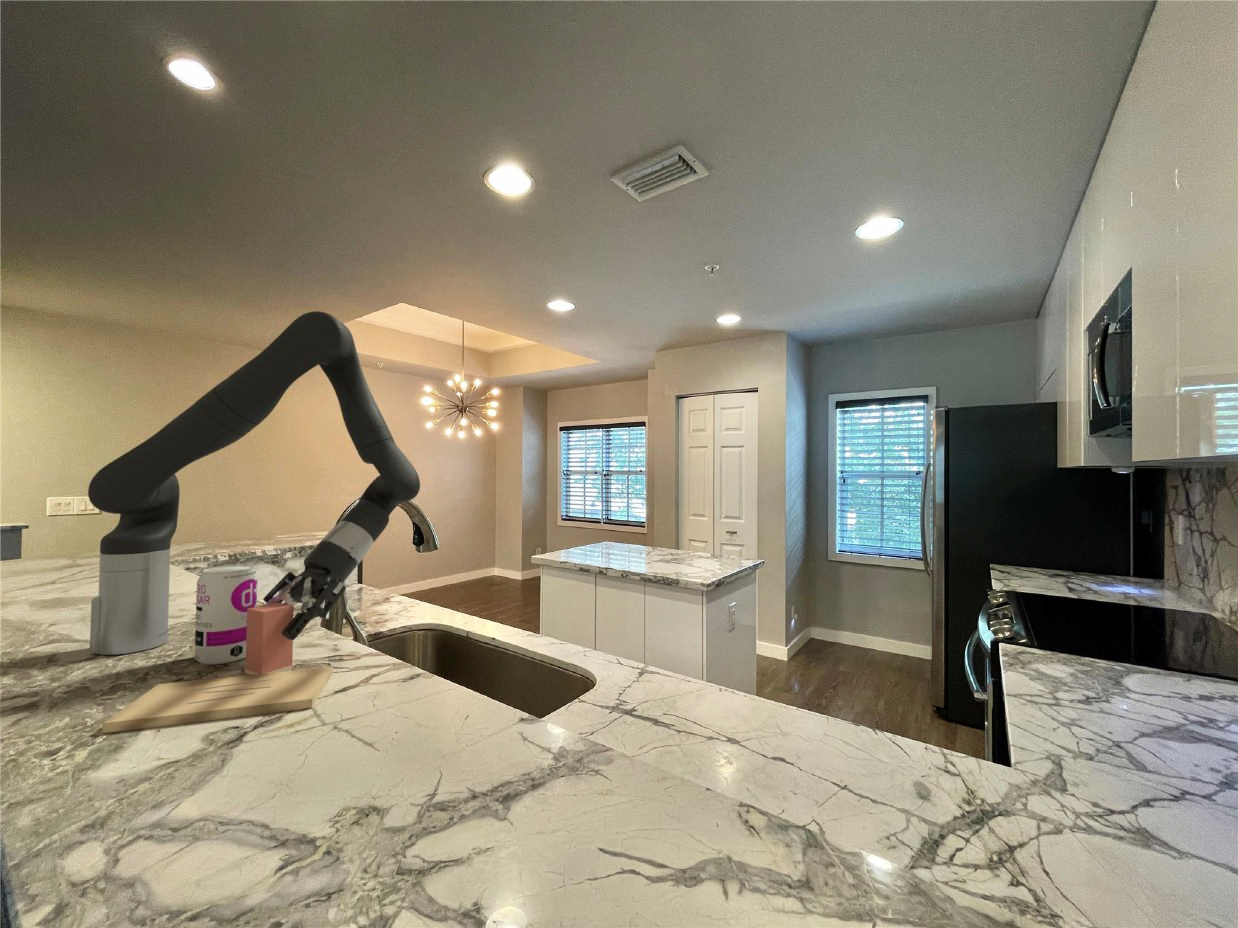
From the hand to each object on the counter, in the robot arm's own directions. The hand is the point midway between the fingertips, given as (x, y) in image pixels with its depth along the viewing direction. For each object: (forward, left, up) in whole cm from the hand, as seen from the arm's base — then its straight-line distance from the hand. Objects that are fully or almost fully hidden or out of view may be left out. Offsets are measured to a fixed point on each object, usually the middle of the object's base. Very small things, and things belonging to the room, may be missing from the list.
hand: (271, 633), depth 80 cm
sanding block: (0, 0, -6) cm, 6 cm away
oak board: (-1, -11, -6) cm, 13 cm away
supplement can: (-9, +9, -6) cm, 14 cm away
